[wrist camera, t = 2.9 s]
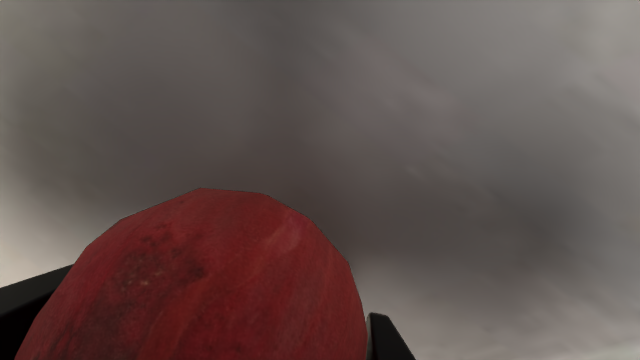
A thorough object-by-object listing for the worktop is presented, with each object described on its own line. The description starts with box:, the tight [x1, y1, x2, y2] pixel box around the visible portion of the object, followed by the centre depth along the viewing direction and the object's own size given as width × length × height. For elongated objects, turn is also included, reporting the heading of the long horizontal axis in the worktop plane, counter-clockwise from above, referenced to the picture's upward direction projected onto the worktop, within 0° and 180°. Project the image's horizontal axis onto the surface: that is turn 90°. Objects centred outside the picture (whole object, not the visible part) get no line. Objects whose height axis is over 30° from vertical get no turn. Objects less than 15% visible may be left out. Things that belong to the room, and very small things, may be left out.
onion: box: [14, 188, 368, 360], centre depth 6 cm, size 6×6×8 cm
